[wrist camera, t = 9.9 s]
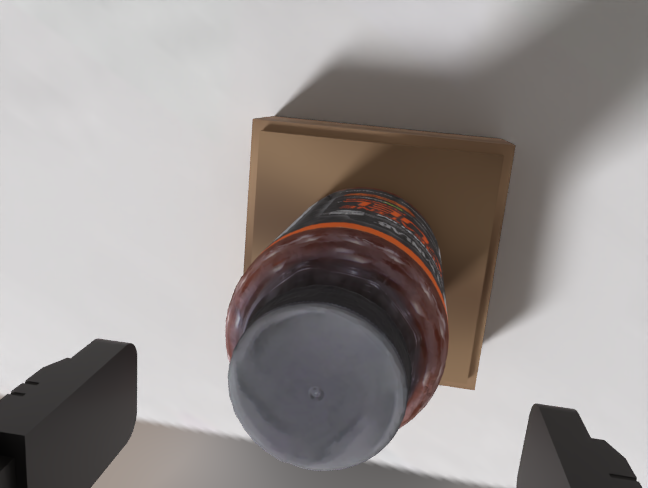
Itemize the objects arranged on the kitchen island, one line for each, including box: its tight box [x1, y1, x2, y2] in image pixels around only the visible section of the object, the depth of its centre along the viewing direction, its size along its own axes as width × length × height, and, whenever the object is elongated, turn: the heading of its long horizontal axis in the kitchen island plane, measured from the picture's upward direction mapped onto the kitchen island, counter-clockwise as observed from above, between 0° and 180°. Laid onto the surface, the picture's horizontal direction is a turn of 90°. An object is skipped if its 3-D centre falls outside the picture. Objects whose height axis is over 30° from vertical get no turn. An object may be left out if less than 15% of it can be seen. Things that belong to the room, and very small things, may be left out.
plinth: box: [243, 116, 515, 390], centre depth 26 cm, size 10×10×4 cm
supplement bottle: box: [226, 187, 449, 471], centre depth 18 cm, size 6×6×11 cm
